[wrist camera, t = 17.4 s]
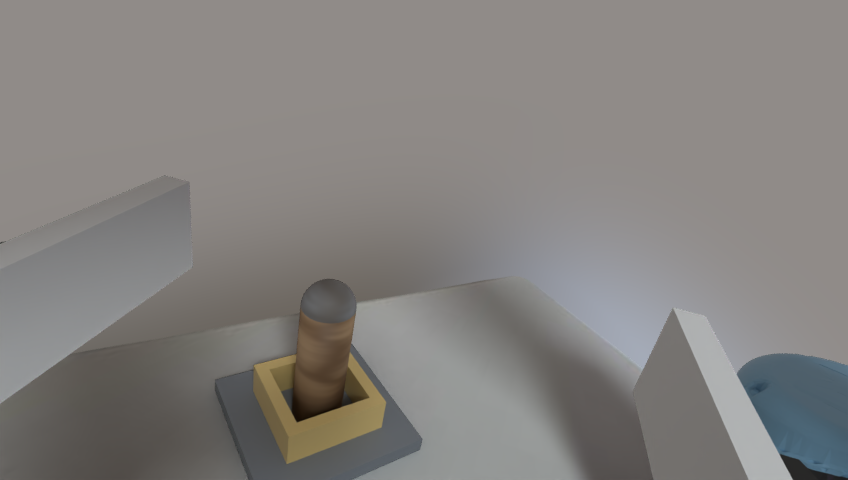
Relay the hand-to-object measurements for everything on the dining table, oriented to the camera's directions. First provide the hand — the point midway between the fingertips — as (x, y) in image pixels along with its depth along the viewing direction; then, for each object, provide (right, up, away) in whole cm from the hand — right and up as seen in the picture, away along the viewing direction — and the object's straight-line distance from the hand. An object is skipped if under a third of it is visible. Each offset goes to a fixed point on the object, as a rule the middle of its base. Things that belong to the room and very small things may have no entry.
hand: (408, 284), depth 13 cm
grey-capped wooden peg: (-11, -16, +38) cm, 42 cm away
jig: (-11, -18, +38) cm, 44 cm away
